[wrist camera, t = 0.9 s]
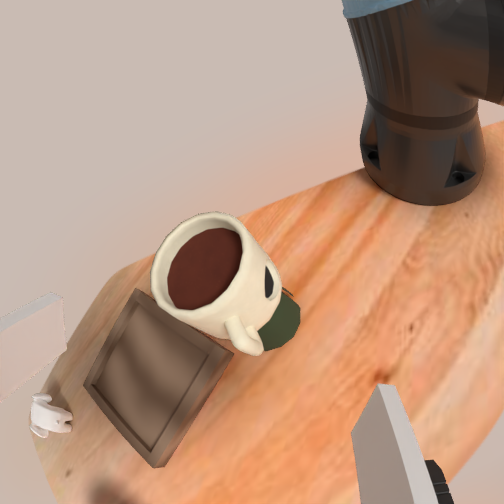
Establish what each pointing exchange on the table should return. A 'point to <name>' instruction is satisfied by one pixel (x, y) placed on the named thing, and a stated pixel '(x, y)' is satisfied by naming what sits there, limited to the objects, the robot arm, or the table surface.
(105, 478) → the table surface
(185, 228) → the character mug
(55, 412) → the elephant figurine
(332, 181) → the table surface
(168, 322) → the walnut tray
